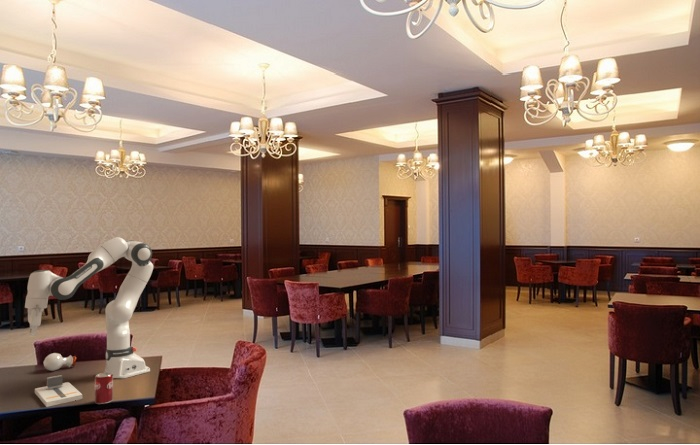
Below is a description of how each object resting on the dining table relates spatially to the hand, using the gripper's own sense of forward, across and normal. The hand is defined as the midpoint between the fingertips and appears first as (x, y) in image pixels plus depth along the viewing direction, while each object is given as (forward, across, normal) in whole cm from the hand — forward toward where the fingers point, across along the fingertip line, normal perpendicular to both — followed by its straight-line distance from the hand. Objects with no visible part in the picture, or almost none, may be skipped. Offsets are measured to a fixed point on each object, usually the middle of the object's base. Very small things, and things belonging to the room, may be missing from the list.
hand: (32, 333), depth 222 cm
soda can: (+27, -31, -28) cm, 49 cm away
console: (+27, -9, -12) cm, 31 cm away
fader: (+25, -2, -11) cm, 27 cm away
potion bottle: (+25, +40, -18) cm, 51 cm away
